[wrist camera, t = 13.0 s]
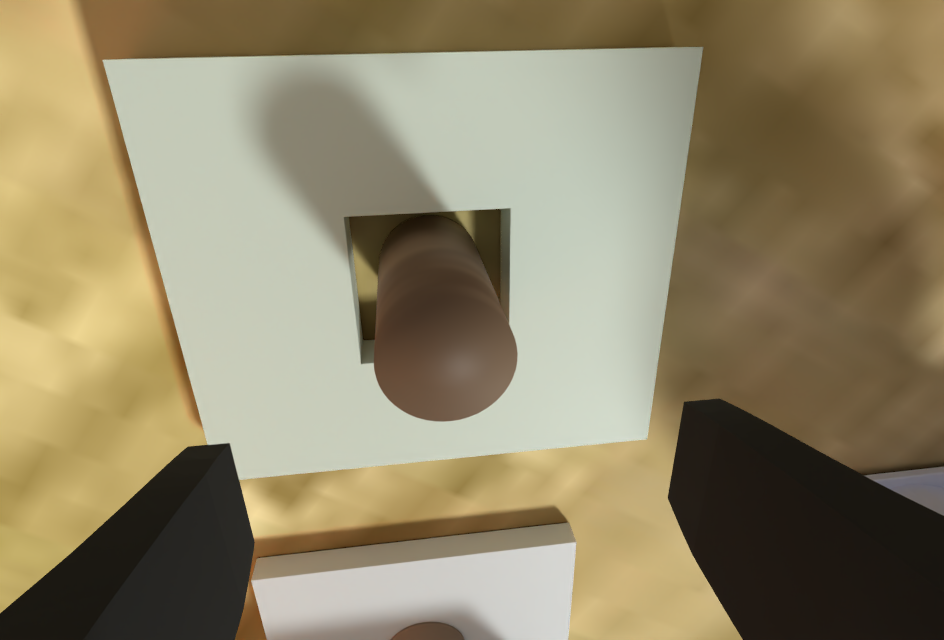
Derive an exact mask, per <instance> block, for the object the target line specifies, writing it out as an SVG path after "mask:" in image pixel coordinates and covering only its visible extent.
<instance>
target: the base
mask: <svg viewBox="0 0 944 640" xmlns="http://www.w3.org/2000/svg"><path fill="white" fill-rule="evenodd" d="M575 552H576V540H575V537H574V534H573V532H572V529H571V527H570V524H569V523H560V524H552V525H543V526H534V527H526V528H517V529H508V530H499V531H491V532H482V533H473V534H464V535H456V536H447V537H438V538H429V539H421V540H412V541H403V542H395V543H386V544H377V545H368V546H360V547H351V548H342V549H333V550H325V551H316V552H307V553H298V554H290V555H281V556H272V557H264V558H257V560H256V564H255V568H254V572H253V576H252V580H251V582H252V585H253V589H254V593H255V597H256V601H257V604H258V608H259V612H260V616H261V619H262V623H263V627H264V631H265V634H266V638H267V640H568V635H569V623H570V611H571V600H572V588H573V576H574V564H575Z"/></svg>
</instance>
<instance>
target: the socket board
mask: <svg viewBox="0 0 944 640" xmlns="http://www.w3.org/2000/svg"><path fill="white" fill-rule="evenodd" d="M702 52H703V47H650V48H603V49H555V50H508V51H461V52H414V53H367V54H320V55H273V56H225V57H178V58H131V59H110V60H103V63H104V67H105V71H106V74H107V78H108V82H109V85H110V89H111V92H112V96H113V100H114V103H115V107H116V111H117V114H118V118H119V122H120V125H121V129H122V133H123V136H124V140H125V144H126V147H127V151H128V155H129V158H130V162H131V166H132V169H133V173H134V177H135V180H136V184H137V188H138V191H139V195H140V199H141V202H142V206H143V210H144V213H145V217H146V221H147V224H148V228H149V232H150V235H151V239H152V243H153V246H154V250H155V254H156V257H157V261H158V265H159V268H160V272H161V276H162V279H163V283H164V286H165V290H166V294H167V297H168V301H169V305H170V308H171V312H172V316H173V319H174V323H175V327H176V330H177V334H178V338H179V341H180V345H181V349H182V352H183V356H184V360H185V363H186V367H187V371H188V374H189V378H190V382H191V385H192V389H193V393H194V396H195V400H196V404H197V407H198V411H199V415H200V418H201V422H202V426H203V429H204V433H205V437H206V440H207V444H208V445H213V444H224V443H230V446H231V450H232V454H233V458H234V462H235V466H236V470H237V474H238V478H239V480H242V479H252V478H262V477H272V476H282V475H292V474H302V473H312V472H322V471H332V470H343V469H353V468H363V467H373V466H383V465H393V464H403V463H413V462H423V461H433V460H443V459H453V458H463V457H473V456H483V455H493V454H503V453H513V452H523V451H533V450H543V449H553V448H563V447H573V446H583V445H594V444H604V443H614V442H624V441H634V440H644V439H647V436H648V429H649V422H650V415H651V408H652V401H653V394H654V387H655V380H656V373H657V366H658V359H659V353H660V346H661V339H662V332H663V325H664V318H665V311H666V304H667V297H668V290H669V283H670V276H671V269H672V262H673V255H674V248H675V241H676V234H677V227H678V220H679V213H680V206H681V199H682V192H683V185H684V178H685V171H686V164H687V157H688V150H689V143H690V136H691V129H692V122H693V115H694V108H695V101H696V94H697V87H698V80H699V73H700V66H701V59H702ZM486 209H501V283H500V304H501V307H502V309H503V311H504V314H505V316H506V318H507V321H508V323H509V325H510V328H511V330H512V333H513V335H514V337H515V341H516V345H517V353H518V356H517V366H516V370H515V373H514V376H513V379H512V381H511V383H510V385H509V386H508V388H507V389H506V391H505V392H504V393H503V394H502V396H501V397H500V398H499V399H498V400H497V401H496V402H494V403H493V404H492V405H491V406H489V407H488V408H486V409H485V410H483V411H481V412H480V413H478V414H475V415H473V416H470V417H468V418H464V419H461V420H455V421H445V422H439V421H429V420H424V419H420V418H416V417H414V416H411V415H409V414H407V413H405V412H403V411H402V410H400V409H399V408H397V407H396V406H395V405H394V404H393V403H392V402H391V401H389V400H388V398H387V397H386V396H385V395H384V393H383V392H382V390H381V388H380V386H379V384H378V382H377V379H376V375H375V371H374V346H375V340H363V335H362V327H361V318H360V309H359V300H358V292H357V283H356V274H355V265H354V257H353V248H352V239H351V230H350V222H349V217H351V216H370V215H390V214H409V213H428V212H447V211H467V210H486Z"/></svg>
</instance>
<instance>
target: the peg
mask: <svg viewBox="0 0 944 640" xmlns="http://www.w3.org/2000/svg"><path fill="white" fill-rule="evenodd" d="M517 356H518V353H517V345H516V341H515V337H514V335H513V333H512V330H511V328H510V325H509V323H508V321H507V318H506V316H505V314H504V311H503V309H502V307H501V304H500V302H499V300H498V297H497V295H496V293H495V290H494V288H493V286H492V283H491V281H490V279H489V276H488V274H487V272H486V269H485V267H484V265H483V262H482V260H481V258H480V255H479V253H478V251H477V248H476V246H475V244H474V241H473V240H472V238H471V236H470V235H469V234H468V232H467V231H466V230H465V229H464V228H463V227H462V226H460V225H459V224H458V223H456V222H454V221H452V220H450V219H448V218H445V217H441V216H435V215H423V216H417V217H414V218H411V219H408V220H406V221H404V222H403V223H401V224H399V225H398V226H397V227H396V228H394V229H393V230H392V231H391V232H390V234H389V235H388V236H387V238H386V239H385V241H384V243H383V245H382V248H381V251H380V256H379V270H378V289H377V308H376V327H375V346H374V371H375V375H376V379H377V382H378V384H379V386H380V388H381V390H382V392H383V393H384V395H385V396H386V397H387V398H388V400H389V401H391V402H392V403H393V404H394V405H395V406H396V407H397V408H399V409H400V410H402V411H403V412H405V413H407V414H409V415H411V416H414V417H416V418H420V419H424V420H429V421H439V422H445V421H455V420H461V419H464V418H468V417H470V416H473V415H475V414H478V413H480V412H481V411H483V410H485V409H486V408H488V407H489V406H491V405H492V404H493V403H494V402H496V401H497V400H498V399H499V398H500V397H501V396H502V394H503V393H504V392H505V391H506V389H507V388H508V386H509V385H510V383H511V381H512V379H513V376H514V373H515V370H516V366H517Z"/></svg>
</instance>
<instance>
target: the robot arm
mask: <svg viewBox="0 0 944 640" xmlns="http://www.w3.org/2000/svg"><path fill="white" fill-rule="evenodd" d="M668 500H669V502H670V504H671V507H672V509H673V511H674V514H675V516H676V519H677V521H678V523H679V526H680V528H681V530H682V533H683V535H684V537H685V539H686V541H687V544H688V546H689V548H690V550H691V552H692V555H693V556H694V558H695V560H696V562H697V563H698V565H699V567H700V569H701V570H702V572H703V574H704V575H705V577H706V579H707V580H708V582H709V584H710V586H711V587H712V589H713V591H714V592H715V594H716V596H717V597H718V599H719V601H720V602H721V604H722V606H723V607H724V609H725V611H726V612H727V614H728V616H729V617H730V619H731V621H732V622H733V624H734V626H735V627H736V629H737V631H738V632H739V634H740V636H741V637H742V639H743V640H944V467H935V468H926V469H917V470H908V471H899V472H890V473H881V474H872V475H862V474H860V473H858V472H856V471H854V470H852V469H850V468H849V467H847V466H845V465H843V464H841V463H839V462H838V461H836V460H834V459H832V458H830V457H828V456H826V455H825V454H823V453H821V452H819V451H817V450H816V449H814V448H812V447H810V446H808V445H806V444H805V443H803V442H801V441H799V440H797V439H796V438H794V437H792V436H790V435H788V434H787V433H785V432H783V431H781V430H779V429H777V428H776V427H774V426H772V425H770V424H768V423H767V422H765V421H763V420H761V419H759V418H757V417H755V416H753V415H752V414H750V413H748V412H746V411H744V410H742V409H740V408H738V407H736V406H734V405H732V404H730V403H728V402H726V401H723V400H721V399H711V400H700V401H689V402H684V406H683V412H682V418H681V423H680V429H679V435H678V441H677V447H676V453H675V459H674V464H673V470H672V476H671V482H670V488H669V494H668ZM254 544H255V542H254V538H253V534H252V530H251V526H250V522H249V518H248V514H247V510H246V506H245V502H244V498H243V494H242V490H241V486H240V482H239V478H238V474H237V470H236V466H235V462H234V458H233V454H232V450H231V446H230V443H224V444H213V445H202V446H191V447H187V448H186V449H185V450H183V451H182V452H181V453H180V454H179V455H178V456H176V457H175V458H174V459H173V460H172V461H171V462H170V463H169V464H168V465H166V466H165V467H164V468H163V469H162V470H161V471H160V472H159V473H158V474H157V475H156V476H155V477H154V478H152V479H151V480H150V481H149V482H148V483H147V484H146V485H145V486H144V487H143V488H142V489H141V490H140V491H139V492H137V493H136V494H135V495H134V496H133V497H132V498H131V499H130V500H129V501H128V502H127V503H126V504H125V505H124V506H122V507H121V508H120V509H119V510H118V511H117V512H116V513H115V514H114V515H113V516H111V517H110V518H109V519H108V520H107V521H106V522H105V523H104V524H103V525H102V526H101V527H99V528H98V529H97V530H96V531H95V532H94V533H93V534H92V535H91V536H90V537H88V538H87V539H86V540H85V541H84V542H83V543H82V544H81V545H80V546H79V547H77V548H76V549H75V550H74V551H73V552H72V553H71V554H70V555H69V556H67V557H66V558H65V559H64V560H63V561H61V562H60V563H59V564H58V565H57V566H56V567H54V568H53V569H52V570H51V571H50V572H49V573H47V574H46V575H45V576H44V577H43V578H41V579H40V580H39V581H38V582H37V583H36V584H34V585H33V586H32V587H31V588H30V589H29V590H27V591H26V592H25V593H24V594H23V595H21V596H20V597H19V598H18V599H17V600H16V601H14V602H13V603H12V604H11V605H10V606H8V607H7V608H6V609H5V610H4V611H3V612H1V613H0V640H235V637H236V633H237V630H238V626H239V623H240V619H241V616H242V612H243V608H244V603H245V598H246V592H247V587H248V581H249V575H250V569H251V563H252V556H253V550H254Z"/></svg>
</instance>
